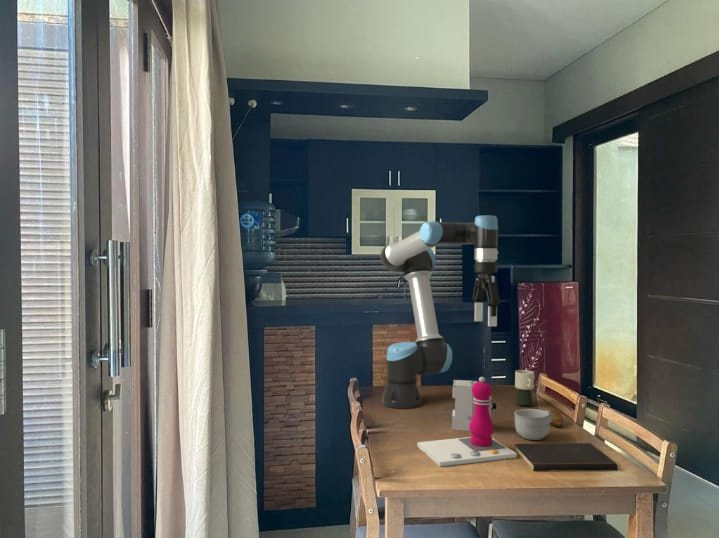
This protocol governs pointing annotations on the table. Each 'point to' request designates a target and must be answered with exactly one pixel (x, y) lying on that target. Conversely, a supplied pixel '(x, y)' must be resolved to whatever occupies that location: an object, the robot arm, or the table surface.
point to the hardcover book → (564, 456)
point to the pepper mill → (481, 415)
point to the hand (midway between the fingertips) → (485, 323)
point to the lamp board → (464, 451)
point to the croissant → (556, 418)
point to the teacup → (532, 423)
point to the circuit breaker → (464, 404)
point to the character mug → (524, 386)
